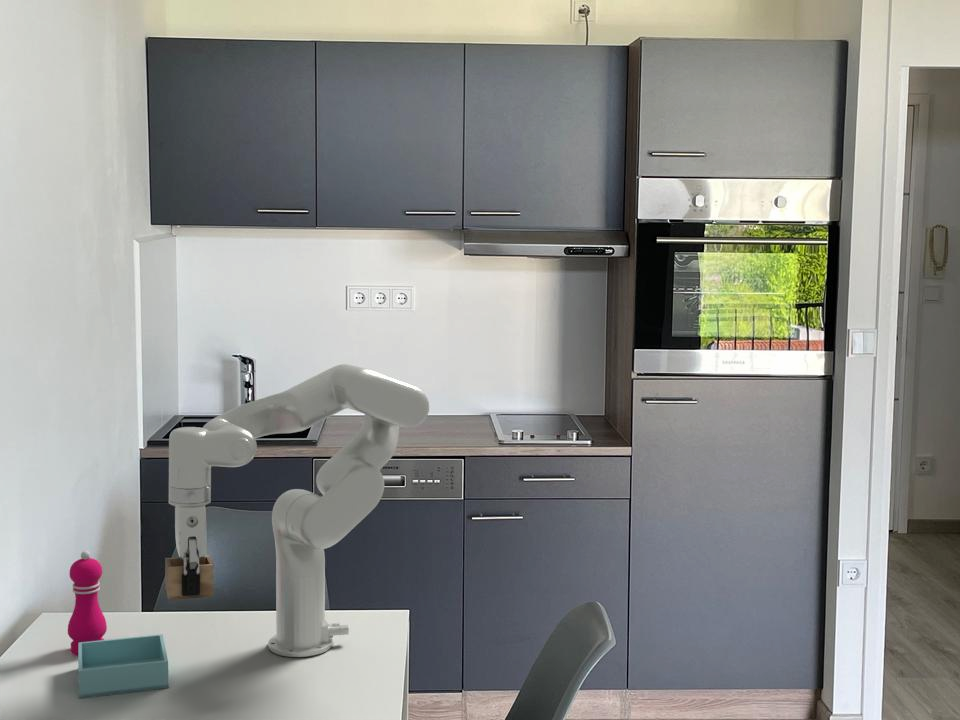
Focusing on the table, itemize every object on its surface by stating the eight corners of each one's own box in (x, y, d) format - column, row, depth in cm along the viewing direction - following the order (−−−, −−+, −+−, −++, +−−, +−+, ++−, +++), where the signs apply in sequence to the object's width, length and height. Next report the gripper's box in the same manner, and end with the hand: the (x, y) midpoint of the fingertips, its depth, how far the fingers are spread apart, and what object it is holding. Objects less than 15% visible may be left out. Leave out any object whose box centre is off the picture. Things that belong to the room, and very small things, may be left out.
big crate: (163, 659, 214) (162, 634, 214) (168, 687, 201) (168, 661, 200) (79, 668, 209) (78, 642, 209) (79, 698, 196) (78, 671, 195)
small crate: (208, 586, 212) (209, 555, 211) (212, 596, 206) (213, 564, 205) (165, 589, 209) (165, 558, 208) (168, 599, 203) (168, 567, 202)
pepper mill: (94, 659, 214) (92, 557, 212) (60, 655, 215) (57, 554, 213) (114, 645, 221) (112, 547, 219) (81, 642, 222) (78, 544, 220)
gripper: (216, 504, 199) (215, 602, 200) (205, 483, 215) (204, 574, 217) (172, 506, 196) (172, 605, 198) (164, 485, 212) (164, 577, 214)
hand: (188, 588), depth 207 cm, fingers closed on small crate, 6 cm apart
